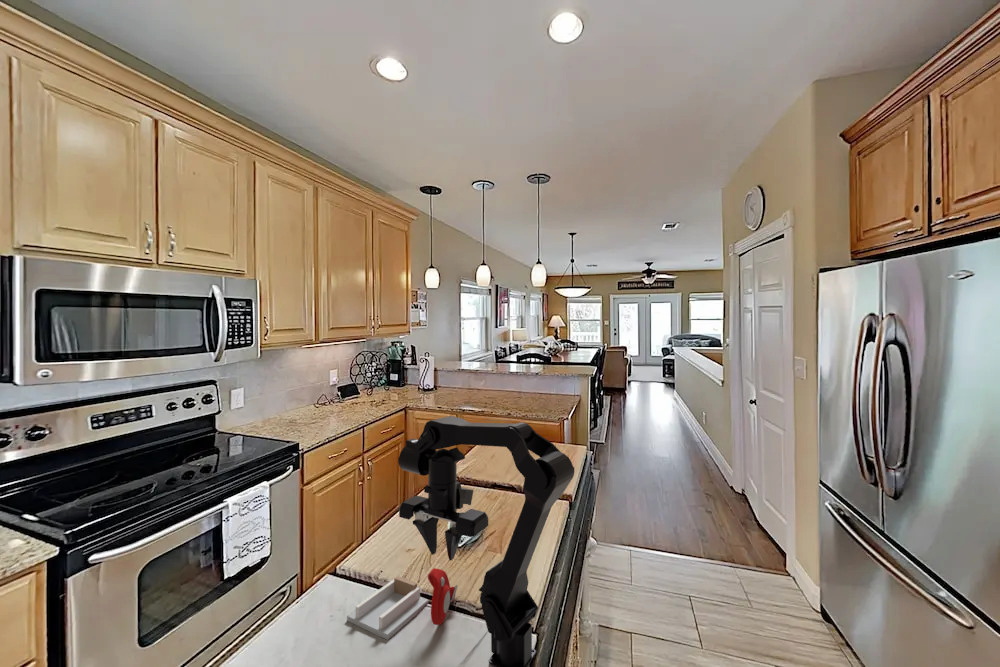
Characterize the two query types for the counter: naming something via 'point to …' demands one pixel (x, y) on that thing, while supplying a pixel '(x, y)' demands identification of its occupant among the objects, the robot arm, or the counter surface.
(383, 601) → the grey walled tray
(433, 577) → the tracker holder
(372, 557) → the counter surface
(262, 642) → the counter surface
